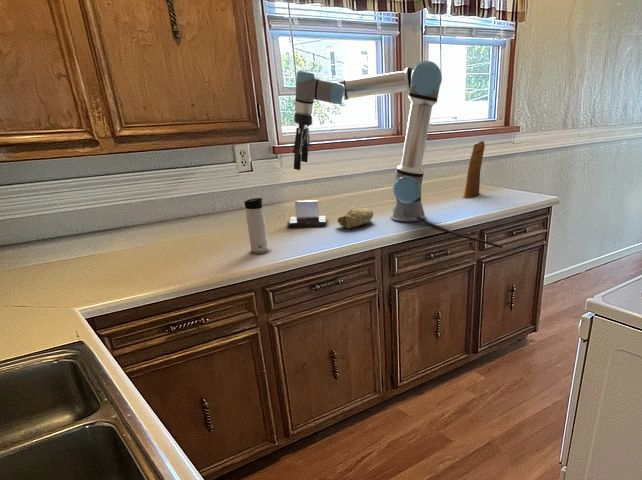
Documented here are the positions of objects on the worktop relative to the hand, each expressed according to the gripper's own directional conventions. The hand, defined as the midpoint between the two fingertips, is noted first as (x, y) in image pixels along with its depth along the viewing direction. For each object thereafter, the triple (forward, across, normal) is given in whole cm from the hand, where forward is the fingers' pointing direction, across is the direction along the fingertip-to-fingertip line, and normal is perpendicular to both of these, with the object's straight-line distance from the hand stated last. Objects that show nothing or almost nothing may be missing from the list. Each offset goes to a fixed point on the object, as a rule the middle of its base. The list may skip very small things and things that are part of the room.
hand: (300, 165), depth 226 cm
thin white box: (+22, +4, +6) cm, 23 cm away
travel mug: (+22, +48, -3) cm, 53 cm away
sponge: (+20, +4, +28) cm, 35 cm away
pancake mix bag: (+16, -64, +84) cm, 107 cm away
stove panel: (+24, +4, +6) cm, 25 cm away
